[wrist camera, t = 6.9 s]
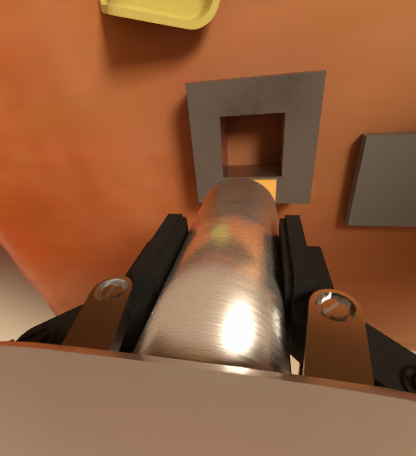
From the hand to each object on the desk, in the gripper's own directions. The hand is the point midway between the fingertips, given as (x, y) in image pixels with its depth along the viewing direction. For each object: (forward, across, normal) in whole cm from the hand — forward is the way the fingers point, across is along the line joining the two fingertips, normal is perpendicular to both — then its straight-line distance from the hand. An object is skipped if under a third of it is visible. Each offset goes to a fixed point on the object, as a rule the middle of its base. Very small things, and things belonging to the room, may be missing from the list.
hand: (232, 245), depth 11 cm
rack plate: (+21, 0, 0) cm, 21 cm away
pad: (+21, -16, +5) cm, 27 cm away
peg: (+3, 0, 0) cm, 3 cm away
